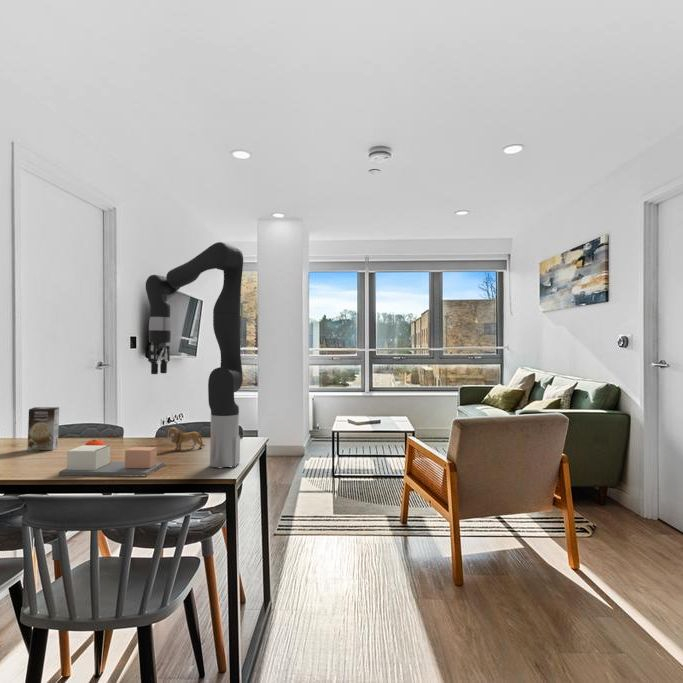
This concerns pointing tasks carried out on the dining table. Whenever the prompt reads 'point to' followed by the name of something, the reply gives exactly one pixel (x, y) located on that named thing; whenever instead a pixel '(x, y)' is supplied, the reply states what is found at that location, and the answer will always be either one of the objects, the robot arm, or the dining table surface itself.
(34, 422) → the coffee box
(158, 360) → the robot arm
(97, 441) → the clementine
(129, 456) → the stub
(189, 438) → the lion figurine
